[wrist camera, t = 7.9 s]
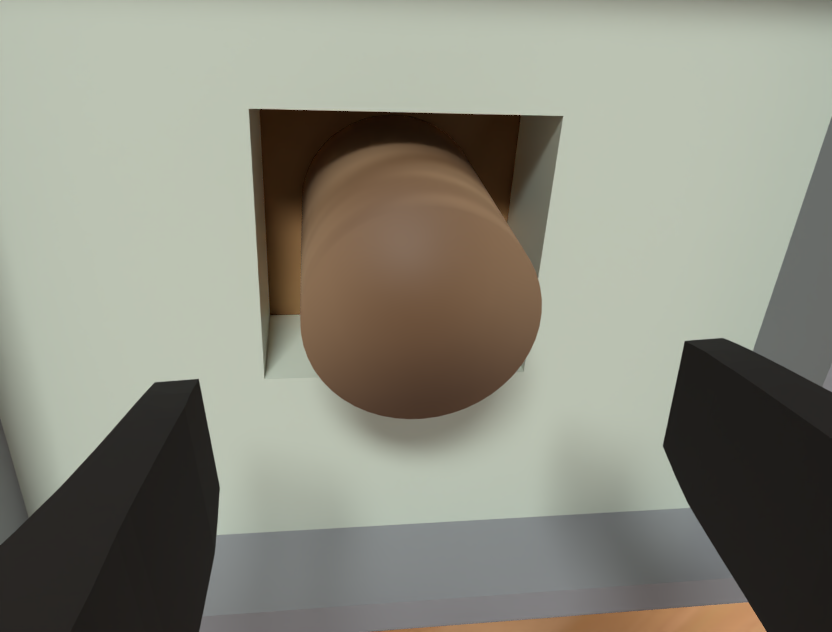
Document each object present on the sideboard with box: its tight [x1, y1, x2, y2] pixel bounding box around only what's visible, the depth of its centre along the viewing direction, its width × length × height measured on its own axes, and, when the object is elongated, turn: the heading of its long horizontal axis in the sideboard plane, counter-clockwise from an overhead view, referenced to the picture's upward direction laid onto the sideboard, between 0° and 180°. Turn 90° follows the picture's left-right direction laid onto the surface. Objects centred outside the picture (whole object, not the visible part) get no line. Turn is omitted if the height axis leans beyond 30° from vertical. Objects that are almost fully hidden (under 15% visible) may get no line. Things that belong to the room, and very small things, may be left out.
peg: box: [300, 115, 542, 419], centre depth 16 cm, size 4×4×6 cm
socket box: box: [0, 0, 832, 632], centre depth 16 cm, size 20×18×6 cm
